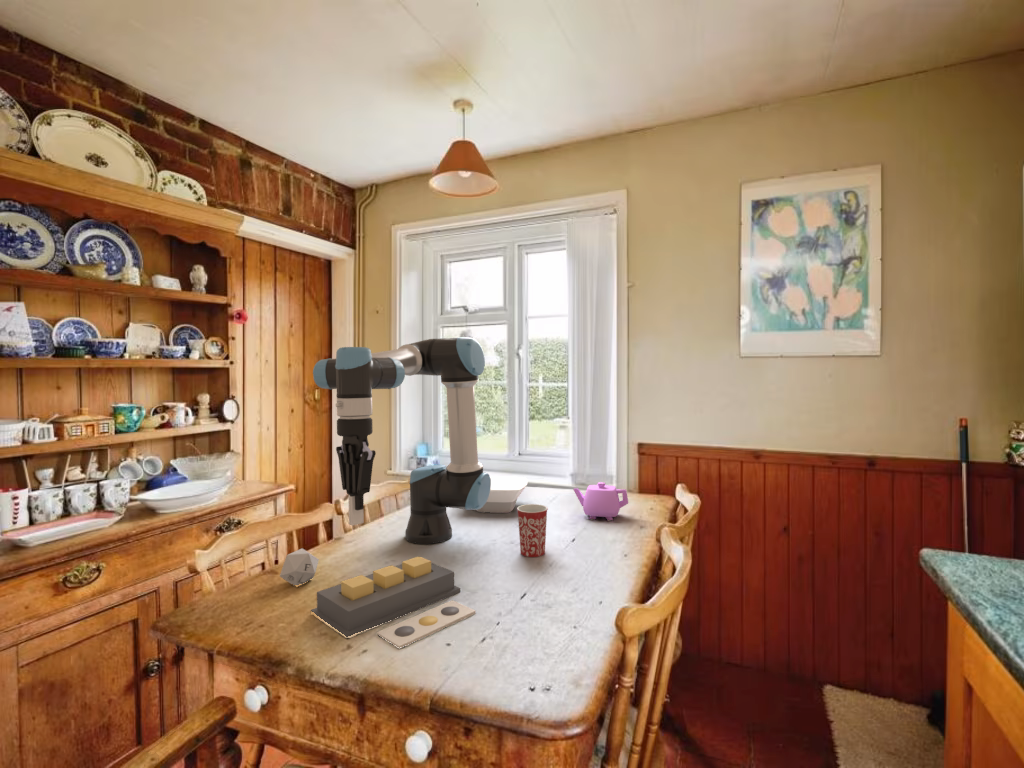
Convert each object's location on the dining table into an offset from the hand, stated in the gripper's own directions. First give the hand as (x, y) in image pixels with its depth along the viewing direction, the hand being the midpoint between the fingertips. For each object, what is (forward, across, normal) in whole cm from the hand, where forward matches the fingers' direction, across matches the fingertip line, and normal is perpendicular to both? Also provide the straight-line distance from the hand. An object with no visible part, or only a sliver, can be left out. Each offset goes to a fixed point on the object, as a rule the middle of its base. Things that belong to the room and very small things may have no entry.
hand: (356, 523), depth 113 cm
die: (+21, -27, -1) cm, 34 cm away
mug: (+21, +3, +57) cm, 61 cm away
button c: (+17, 0, +16) cm, 23 cm away
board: (+20, 0, +8) cm, 22 cm away
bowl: (+21, -41, +84) cm, 96 cm away
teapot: (+21, -3, +101) cm, 103 cm away
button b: (+17, 0, +8) cm, 19 cm away
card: (+20, +15, +8) cm, 27 cm away
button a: (+17, 0, 0) cm, 17 cm away
